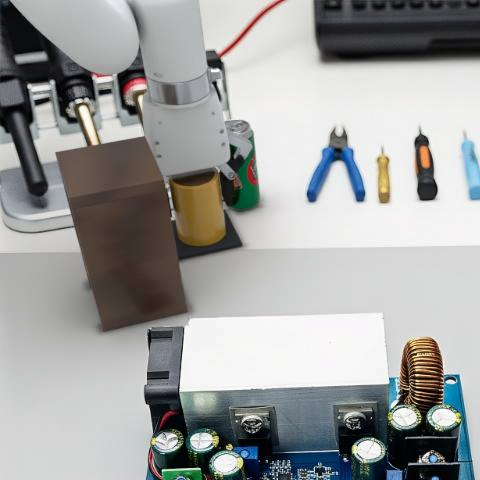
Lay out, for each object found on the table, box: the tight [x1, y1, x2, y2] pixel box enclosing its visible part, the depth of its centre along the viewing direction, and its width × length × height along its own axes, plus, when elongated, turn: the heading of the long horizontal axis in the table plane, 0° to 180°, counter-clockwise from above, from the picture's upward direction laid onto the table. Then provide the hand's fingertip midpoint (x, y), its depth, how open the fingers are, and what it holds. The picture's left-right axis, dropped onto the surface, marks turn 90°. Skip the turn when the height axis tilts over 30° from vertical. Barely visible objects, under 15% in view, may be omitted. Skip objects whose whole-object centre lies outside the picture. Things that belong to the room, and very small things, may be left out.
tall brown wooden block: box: [54, 135, 188, 332], centre depth 120 cm, size 10×10×19 cm
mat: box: [171, 209, 243, 261], centre depth 136 cm, size 9×9×1 cm
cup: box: [167, 167, 226, 246], centre depth 133 cm, size 7×7×9 cm
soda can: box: [224, 118, 261, 211], centre depth 138 cm, size 5×5×12 cm
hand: (197, 206), depth 133 cm, fingers open, 7 cm apart
